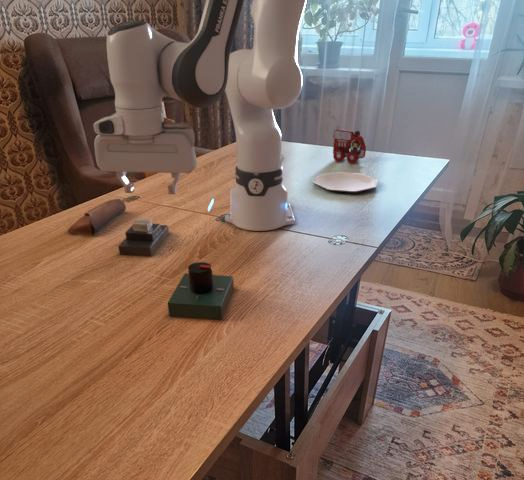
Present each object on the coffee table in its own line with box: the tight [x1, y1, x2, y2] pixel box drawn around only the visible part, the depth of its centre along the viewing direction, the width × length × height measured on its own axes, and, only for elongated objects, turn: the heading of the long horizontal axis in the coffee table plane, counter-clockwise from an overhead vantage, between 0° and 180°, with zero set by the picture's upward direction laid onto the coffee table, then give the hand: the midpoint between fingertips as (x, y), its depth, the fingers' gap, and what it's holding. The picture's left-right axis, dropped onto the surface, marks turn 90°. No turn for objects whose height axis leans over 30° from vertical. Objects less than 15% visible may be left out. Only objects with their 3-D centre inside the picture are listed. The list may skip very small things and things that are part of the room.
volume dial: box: [187, 261, 213, 294], centre depth 91 cm, size 4×4×5 cm
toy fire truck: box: [332, 129, 367, 164], centre depth 176 cm, size 7×12×10 cm, turn 66°
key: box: [131, 217, 154, 232], centre depth 114 cm, size 4×4×2 cm
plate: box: [313, 171, 379, 194], centre depth 154 cm, size 20×20×2 cm
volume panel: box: [167, 273, 235, 321], centre depth 93 cm, size 12×10×3 cm
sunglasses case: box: [67, 198, 127, 237], centre depth 127 cm, size 18×7×7 cm
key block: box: [117, 223, 170, 258], centre depth 116 cm, size 14×8×4 cm, turn 172°
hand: (151, 193), depth 102 cm, fingers open, 8 cm apart
